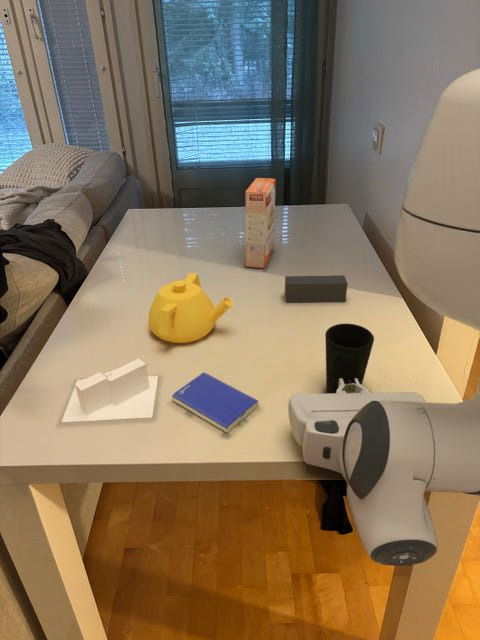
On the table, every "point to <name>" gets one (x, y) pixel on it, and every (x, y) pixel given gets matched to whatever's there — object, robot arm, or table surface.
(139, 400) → the napkin holder
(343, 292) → the stop block
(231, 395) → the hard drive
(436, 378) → the table surface
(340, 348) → the cup
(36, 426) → the table surface
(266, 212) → the cracker box
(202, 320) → the teapot
